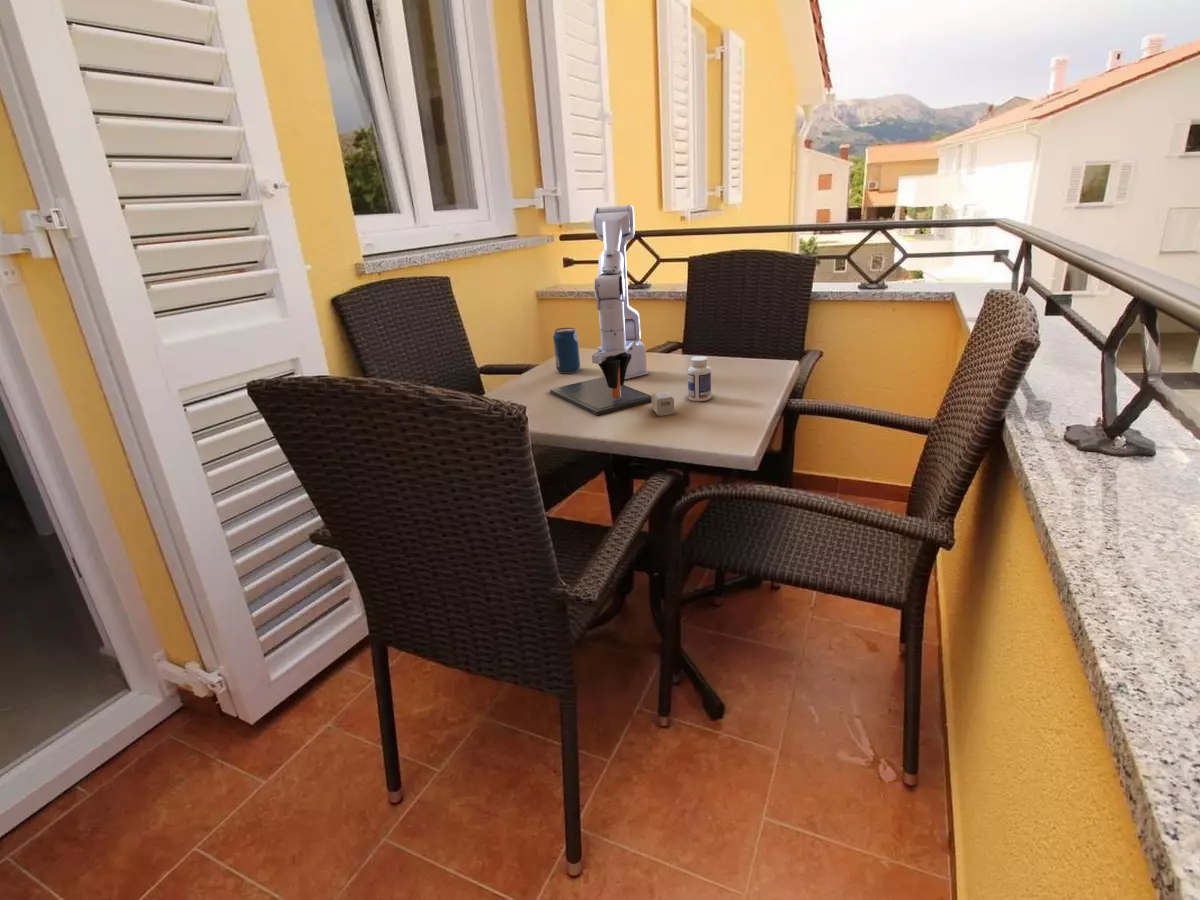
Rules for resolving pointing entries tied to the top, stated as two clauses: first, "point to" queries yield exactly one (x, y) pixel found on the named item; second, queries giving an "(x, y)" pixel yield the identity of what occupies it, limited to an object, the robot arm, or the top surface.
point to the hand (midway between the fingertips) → (616, 386)
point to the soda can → (566, 350)
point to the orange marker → (617, 392)
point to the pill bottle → (699, 379)
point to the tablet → (599, 396)
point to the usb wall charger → (662, 403)
